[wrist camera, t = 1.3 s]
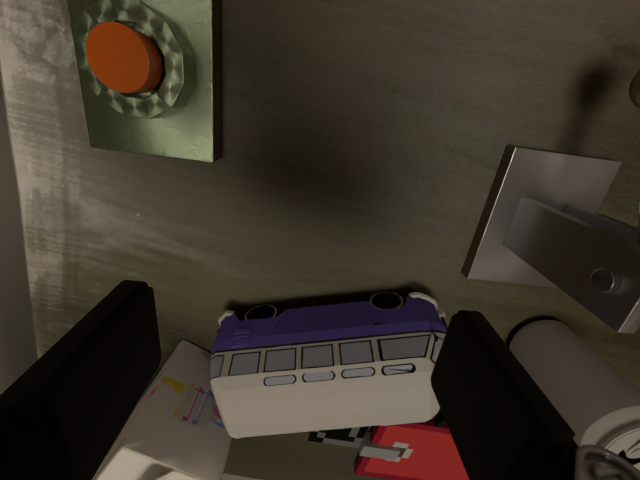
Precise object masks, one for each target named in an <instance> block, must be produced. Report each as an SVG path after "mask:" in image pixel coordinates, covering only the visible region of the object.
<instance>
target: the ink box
mask: <svg viewBox="0 0 640 480" xmlns="http://www.w3.org/2000/svg"><path fill="white" fill-rule="evenodd" d="M211 356H212V354H211V353H209V352H207V351H205V350H203V349H201V348H199V347H197V346H195V345H193V344H191V343H190V342H188V341H186V340H182V341H181V342H180V343H179V345H178V346H177V347H176V349H175V350H174V352H173V353H172V354H171V356H170V357H169V359H168V360H167V362H166V363H165V365H164V366H163V367H162V369H161V370H160V372H159V373H158V375H157V376H156V377H155V379H154V380H153V382H152V383H151V385H150V386H149V387H148V388H147V390H146V392H145V393H144V395H143V397H142V398H141V400H140V402H139V403H138V405H137V407H136V408H135V410H134V412H133V413H132V415H131V417H130V418H129V420H128V422H127V423H126V425H125V427H124V429H123V430H122V432H121V434H120V435H119V437H118V439H117V440H116V442H115V444H114V445H113V447H112V449H111V450H110V452H109V454H108V456H107V457H106V459H105V461H104V462H103V464H102V466H101V467H100V469H99V471H98V472H97V474H96V476H95V477H94V479H93V480H221V479H222V475H223V471H224V467H225V463H226V460H227V456H228V452H229V448H230V444H231V440H232V437H230V436H229V434H228V433H227V430H226V427H225V425H224V423H223V421H222V418H221V415H220V412H219V409H218V406H217V403H216V400H215V397H214V394H213V391H212V387H211V382H210V373H211Z"/></svg>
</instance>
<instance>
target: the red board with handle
mask: <svg viewBox="0 0 640 480" xmlns="http://www.w3.org/2000/svg"><path fill="white" fill-rule="evenodd" d="M368 427H369V426H366V427H354V428H343V429H331V430H320V431H311V433H310V435H309V438H308V441H314V442H321V443H328V444H335V445H342V446H349V447H356V448H358V449H359V458H358V460H357V462H356V464H355V466H354V471H355V474H357V475H364V476H372V477H379V478H387V479H395V480H469V478H468V475H467V473H466V470H465V468H464V466H463V463H462V461H461V458H460V456H459V453H458V451H457V448H456V446H455V443H454V441H453V438H452V436H451V433H450V431H449V428H448V426H447V424H446V421H445V419H444V416H443V414H442V412H441V413H440V414H439V415H437V416H436V417H435V418H434V419H430V420H428V421H426V422H418V423H408V424H398V425H388V426H381V425H377V426H374V428H373V430H372V432H366V431H367V429H368Z"/></svg>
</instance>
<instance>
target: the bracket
mask: <svg viewBox="0 0 640 480" xmlns="http://www.w3.org/2000/svg"><path fill="white" fill-rule="evenodd" d="M621 164H622V162H621V161H616V160H611V159H604V158H597V157H589V156H582V155H575V154H568V153H560V152H553V151H546V150H539V149H531V148H524V147H517V146H510V145H508V146H507V148H506V150H505V153H504V156H503V159H502V162H501V164H500V167H499V170H498V173H497V176H496V178H495V181H494V184H493V187H492V190H491V192H490V195H489V198H488V201H487V204H486V206H485V209H484V212H483V215H482V217H481V220H480V223H479V226H478V229H477V231H476V234H475V237H474V240H473V243H472V245H471V248H470V251H469V254H468V257H467V259H466V262H465V265H464V268H463V271H462V273H463V274H464V276H465V277H466V278H467V279H475V280H484V281H493V282H502V283H511V284H520V285H529V286H539V287H548V288H558V287H559V288H560V289H561V290H563V291H564V292H565V293H567V294H568V295H569V296H571V297H572V298H573V299H574V300H576V301H577V302H578V303H580V304H581V305H582V306H584V307H585V308H586V309H588V310H589V311H590V312H592V313H593V314H594V315H595V316H597V317H598V318H599V319H601V320H602V321H603V322H605V323H606V324H607V325H609V326H610V327H611V328H612V329H614V330H615V331H616V332H618V333H627V334H634V333H635V332H636V330H637V329H638V328H639V326H640V246H638V245H636V239H637V227H634V226H632V225H629V224H627V223H624V222H621V221H619V220H616V219H614V218H611V217H609V216H606V215H603V214H601V213H598V212H597V211H598V209H599V207H600V205H601V203H602V201H603V199H604V197H605V195H606V193H607V191H608V189H609V187H610V185H611V183H612V181H613V180H614V178H615V176H616V174H617V172H618V170H619V168H620V166H621Z"/></svg>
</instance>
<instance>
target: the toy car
mask: <svg viewBox="0 0 640 480" xmlns="http://www.w3.org/2000/svg"><path fill="white" fill-rule="evenodd" d="M408 295H409V296H408V297H406V303H405V301H404V299H403V298H402V297H401V296H399V295H398V294H396V293H392V292H386V291H385V292H380V293H376V294H375V295H373V296H372V297H371V298H370V299H369V301H362V302H352V303H343V304H333V305H323V306H314V307H304V308H294V309H286V310H285V311H283V312H282V313H281V314H280V315H279V311H278V310H277V309H276V308H275V307H274V306H273V305H266V304H265V305H258V306H256V307H254V308H252V309H250V310H249V311H248V312H247V313H246V315H245V317H244V320H242V321H239V320H238V318H237V316H236V314H233V313H234V311H230V310H226V311H225V312H224V313H223V314H222V315H221V316H220V317H219V319H218V321H219V328H218V330H217V333H216V334H217V337H216V340H215V343H214V346H213V351H212V356H211V373H210V382H211V387H212V391H213V394H214V397H215V400H216V403H217V406H218V409H219V412H220V415H221V418H222V421H223V423H224V425H225V427H226V430H227V433H228V434H229V436H230V437H233V438H236V439H238V438H242V437H251V436H262V435H274V434H285V433H297V432H308V431H320V430H331V429H343V428H354V427H366V426H377V425H381V426H388V425H398V424H408V423H418V422H426V421H428V420H430V419H432V418H433V417H434V416H435V415H436V414H437V413H438V411H439V410H440V406H439V404H438V401H437V399H436V396H435V394H434V391H433V389H432V386H431V374H432V371H433V368H434V366H435V363H436V360H437V357H438V354H439V352H440V349H441V346H442V343H443V340H444V337H445V335H446V332H447V329H448V327H447V325H446V323H445V320H444V318H443V317H445V316H446V314H445V312H444V311H443V310H442V309H441V308H439V307H438V305H437V302H436V300H435V299H434V298H432V297H430V296H428V295H426V294H423V293H420V292H412V293H409V294H408ZM432 303H433V305H432ZM391 304H393V305H391ZM382 305H384V306H382ZM387 305H388V306H387ZM435 309H436V310H435ZM442 316H443V317H442ZM265 317H267V318H265ZM257 318H258V319H257ZM260 318H262V319H260Z"/></svg>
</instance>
